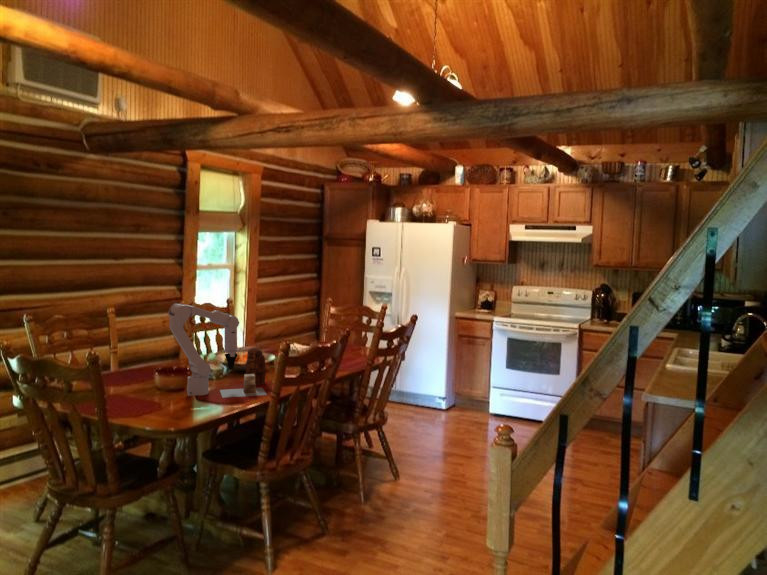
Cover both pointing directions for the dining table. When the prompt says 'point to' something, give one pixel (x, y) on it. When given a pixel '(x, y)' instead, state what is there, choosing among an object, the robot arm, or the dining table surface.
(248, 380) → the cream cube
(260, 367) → the wooden figurine
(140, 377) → the dining table surface
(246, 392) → the walnut base block
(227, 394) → the mat
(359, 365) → the dining table surface
